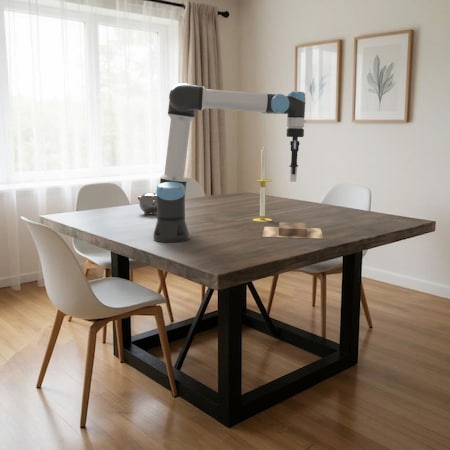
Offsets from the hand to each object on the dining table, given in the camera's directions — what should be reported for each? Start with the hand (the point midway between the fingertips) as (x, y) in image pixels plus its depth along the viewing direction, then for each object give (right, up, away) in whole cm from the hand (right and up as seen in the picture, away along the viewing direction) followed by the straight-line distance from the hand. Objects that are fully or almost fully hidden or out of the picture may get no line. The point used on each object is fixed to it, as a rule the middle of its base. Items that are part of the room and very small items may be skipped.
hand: (293, 181), depth 242 cm
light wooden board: (0, -23, 0) cm, 23 cm away
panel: (0, -20, +6) cm, 21 cm away
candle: (-12, -17, +30) cm, 37 cm away
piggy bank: (-69, -14, +46) cm, 84 cm away
